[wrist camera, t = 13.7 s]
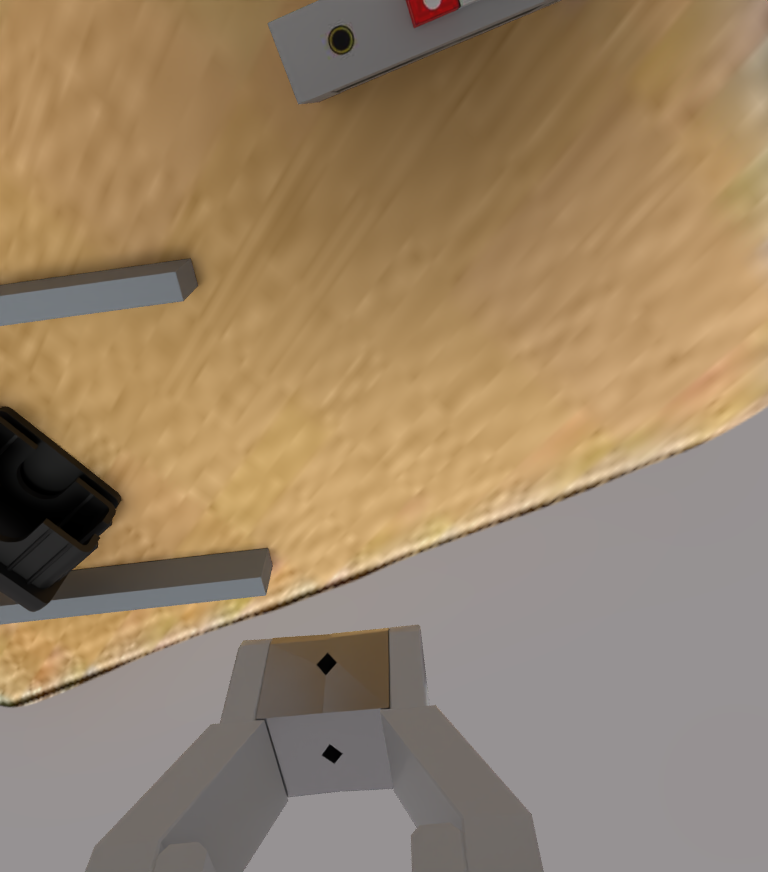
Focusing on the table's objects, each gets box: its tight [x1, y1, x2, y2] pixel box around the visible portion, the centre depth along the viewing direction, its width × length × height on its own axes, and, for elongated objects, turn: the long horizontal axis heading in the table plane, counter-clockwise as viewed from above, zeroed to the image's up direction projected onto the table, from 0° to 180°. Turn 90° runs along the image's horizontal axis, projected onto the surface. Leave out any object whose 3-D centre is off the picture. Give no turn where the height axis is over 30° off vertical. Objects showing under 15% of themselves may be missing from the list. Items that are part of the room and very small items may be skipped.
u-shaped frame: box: [0, 259, 273, 624], centre depth 38 cm, size 21×22×6 cm
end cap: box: [0, 407, 121, 612], centre depth 39 cm, size 10×7×7 cm
